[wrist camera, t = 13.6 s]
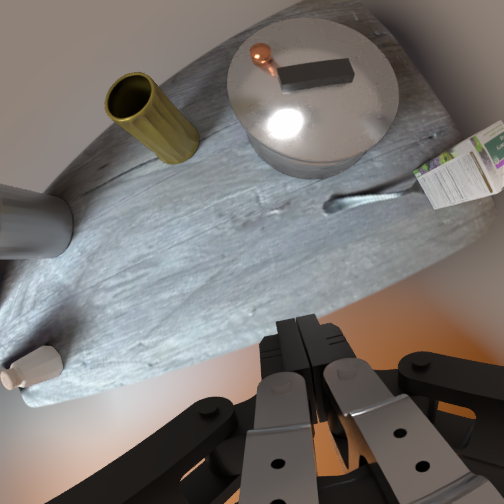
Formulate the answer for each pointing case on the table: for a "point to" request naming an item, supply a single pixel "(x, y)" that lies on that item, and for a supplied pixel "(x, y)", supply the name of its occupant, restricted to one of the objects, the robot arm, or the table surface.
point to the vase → (151, 118)
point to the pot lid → (313, 90)
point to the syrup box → (466, 169)
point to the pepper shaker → (33, 368)
